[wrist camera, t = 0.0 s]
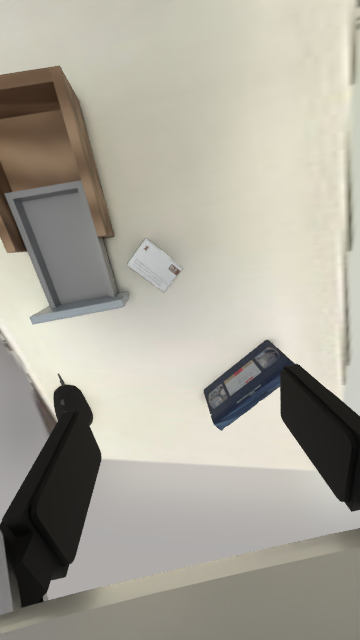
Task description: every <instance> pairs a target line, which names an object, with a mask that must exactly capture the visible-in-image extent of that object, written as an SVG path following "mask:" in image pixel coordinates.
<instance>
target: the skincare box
mask: <svg viewBox="0 0 360 640" xmlns="http://www.w3.org/2000/svg"><path fill="white" fill-rule="evenodd" d="M127 266H129V267H130V268H131V269H133V270H134V271H135V272H137V273H138V274H139V275H141V276H142V277H143V278H145V279H146V280H148V281H149V282H150V283H152V284H153V285H154V286H156V287H157V288H158V289H160V290H161V291H163V292H165V291H166V290H167V288H168V287H169V286H170V285H171V283H172V282H173V281H174V279H175V278H176V277H177V276H178V275H179V273H180V272H181V271H182V269H183V268H182V267H181V266H180V265H179V264H178V263H176V262H175V261H174V260H173V259H172V258H170V257H169V256H168V255H167V254H166V253H165V252H163V251H162V250H161V249H160V248H158V247H157V246H156V245H155V244H153V243H152V242H151V241H150V240H148V239H147V238H145V239H144V241H143V242H142V244H141V245H140V247H139V248H138V249H137V251H136V252H135V254H134V255H133V257H132V258H131V259H130V260H129V262H128V263H127Z"/></svg>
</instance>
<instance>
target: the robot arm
mask: <svg viewBox="0 0 360 640" xmlns="http://www.w3.org/2000/svg"><path fill="white" fill-rule="evenodd" d="M280 392H281V417H282V420H283V422H284V423H285V425H286V426H287V427H288V429H289V430H290V432H291V433H292V435H293V436H294V437H295V439H296V440H297V442H298V443H299V445H300V446H301V447H302V449H303V450H304V452H305V453H306V455H307V456H308V457H309V459H310V460H311V462H312V463H313V464H314V466H315V467H316V469H317V470H318V472H319V473H320V474H321V476H322V477H323V479H324V480H325V482H326V483H327V484H328V486H329V487H330V489H331V490H332V491H333V493H334V494H335V496H336V497H337V498H338V499H339V500H340V501H341V502H345V503H346V505H347V506H348V507H349V509H350V510H351V511H356V510H360V416H358V414H356V413H355V412H354V411H353V410H352V409H351V408H349V407H348V406H347V405H346V404H345V403H344V402H342V401H341V400H340V399H339V398H338V397H337V396H335V395H334V394H333V393H332V392H331V391H329V390H328V389H326V388H325V387H324V386H323V385H322V384H321V383H319V382H318V381H317V380H316V379H315V378H314V377H312V376H311V375H310V374H309V373H308V372H307V371H306V370H304V369H303V368H302V367H301V366H300V365H298V364H293V365H288V366H284V368H283V370H281V371H280ZM100 463H101V452H100V449H99V447H98V445H97V442H96V440H95V438H94V435H93V433H92V431H91V428H90V426H89V424H88V421H87V419H86V417H85V415H84V413H83V412H80V411H79V410H78V409H75V410H71V411H66V412H64V413H63V414H62V415H61V417H60V419H59V421H58V422H57V424H56V426H55V428H54V429H53V431H52V433H51V435H50V436H49V438H48V440H47V442H46V443H45V445H44V447H43V449H42V451H41V452H40V454H39V456H38V457H37V459H36V461H35V463H34V464H33V466H32V468H31V470H30V471H29V473H28V475H27V477H26V478H25V480H24V482H23V484H22V485H21V487H20V489H19V491H18V492H17V494H16V496H15V498H14V499H13V501H12V503H11V505H10V506H9V508H8V510H7V512H6V513H5V515H4V517H3V519H2V522H1V524H0V640H360V528H359V529H355V530H349V531H344V532H339V533H334V534H329V535H325V536H321V537H316V538H312V539H307V540H303V541H298V542H293V543H289V544H285V545H280V546H276V547H272V548H267V549H263V550H258V551H253V552H249V553H245V554H241V555H236V556H232V557H228V558H223V559H219V560H214V561H210V562H206V563H201V564H197V565H193V566H188V567H184V568H180V569H175V570H171V571H167V572H163V573H158V574H155V575H151V576H146V577H142V578H137V579H133V580H129V581H125V582H120V583H116V584H112V585H108V586H104V587H99V588H95V589H91V590H87V591H83V592H79V593H75V594H71V595H67V596H64V597H60V598H56V599H52V600H48V597H47V590H48V587H49V584H50V581H51V580H55V579H59V578H64V577H66V574H67V571H68V567H69V564H71V563H72V562H73V561H74V558H75V556H76V552H77V548H78V545H79V541H80V537H81V534H82V530H83V526H84V522H85V519H86V515H87V511H88V507H89V504H90V500H91V496H92V493H93V489H94V485H95V481H96V478H97V474H98V470H99V466H100Z"/></svg>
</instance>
